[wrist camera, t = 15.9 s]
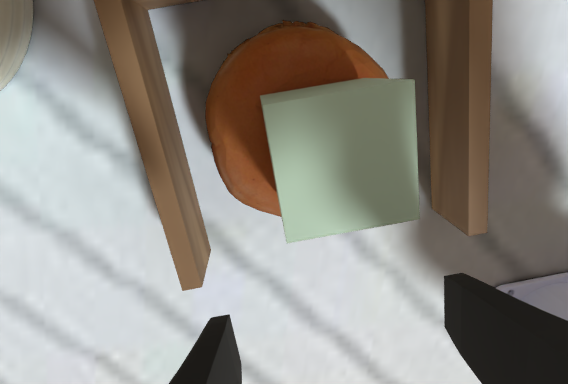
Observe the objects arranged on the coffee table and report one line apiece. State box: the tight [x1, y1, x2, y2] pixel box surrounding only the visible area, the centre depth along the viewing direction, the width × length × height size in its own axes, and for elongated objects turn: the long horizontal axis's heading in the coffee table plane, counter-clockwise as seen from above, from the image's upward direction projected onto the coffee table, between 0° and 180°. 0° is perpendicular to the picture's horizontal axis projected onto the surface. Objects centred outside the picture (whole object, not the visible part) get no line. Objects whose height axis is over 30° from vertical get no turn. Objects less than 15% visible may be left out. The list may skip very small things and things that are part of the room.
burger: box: [205, 20, 389, 217], centre depth 18 cm, size 10×9×5 cm
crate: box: [94, 0, 493, 291], centre depth 18 cm, size 16×14×4 cm
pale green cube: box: [260, 78, 420, 243], centre depth 13 cm, size 4×4×5 cm
